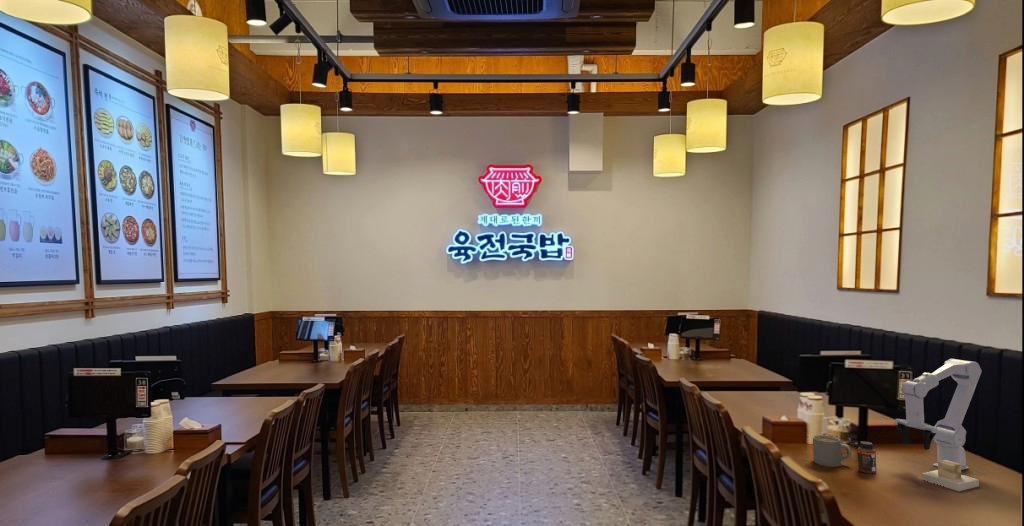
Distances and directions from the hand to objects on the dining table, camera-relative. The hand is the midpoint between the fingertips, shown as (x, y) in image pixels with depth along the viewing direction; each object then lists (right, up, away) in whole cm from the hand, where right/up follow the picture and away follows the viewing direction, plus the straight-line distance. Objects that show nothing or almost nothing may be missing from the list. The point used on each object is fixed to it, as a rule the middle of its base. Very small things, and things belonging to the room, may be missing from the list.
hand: (916, 446), depth 209 cm
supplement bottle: (-20, -10, -1) cm, 22 cm away
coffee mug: (-28, -10, +9) cm, 31 cm away
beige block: (+2, -10, -14) cm, 17 cm away
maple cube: (+2, -7, -14) cm, 15 cm away
